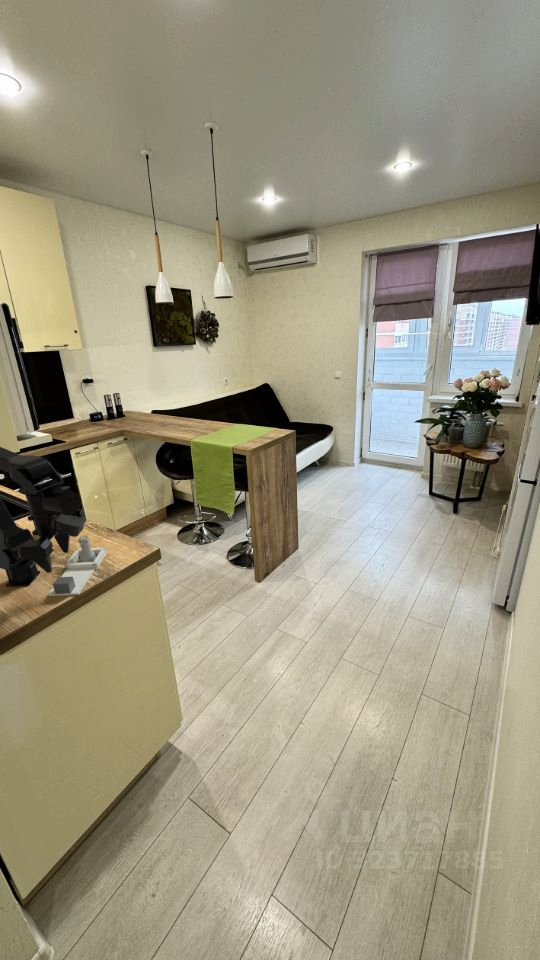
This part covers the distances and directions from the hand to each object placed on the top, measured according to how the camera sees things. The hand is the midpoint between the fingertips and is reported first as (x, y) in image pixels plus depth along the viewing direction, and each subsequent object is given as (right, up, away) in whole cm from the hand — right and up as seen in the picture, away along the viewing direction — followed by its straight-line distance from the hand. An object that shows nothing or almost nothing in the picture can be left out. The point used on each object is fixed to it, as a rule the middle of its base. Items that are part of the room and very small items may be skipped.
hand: (58, 562), depth 98 cm
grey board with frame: (0, -6, +12) cm, 13 cm away
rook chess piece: (-1, -3, +18) cm, 19 cm away
